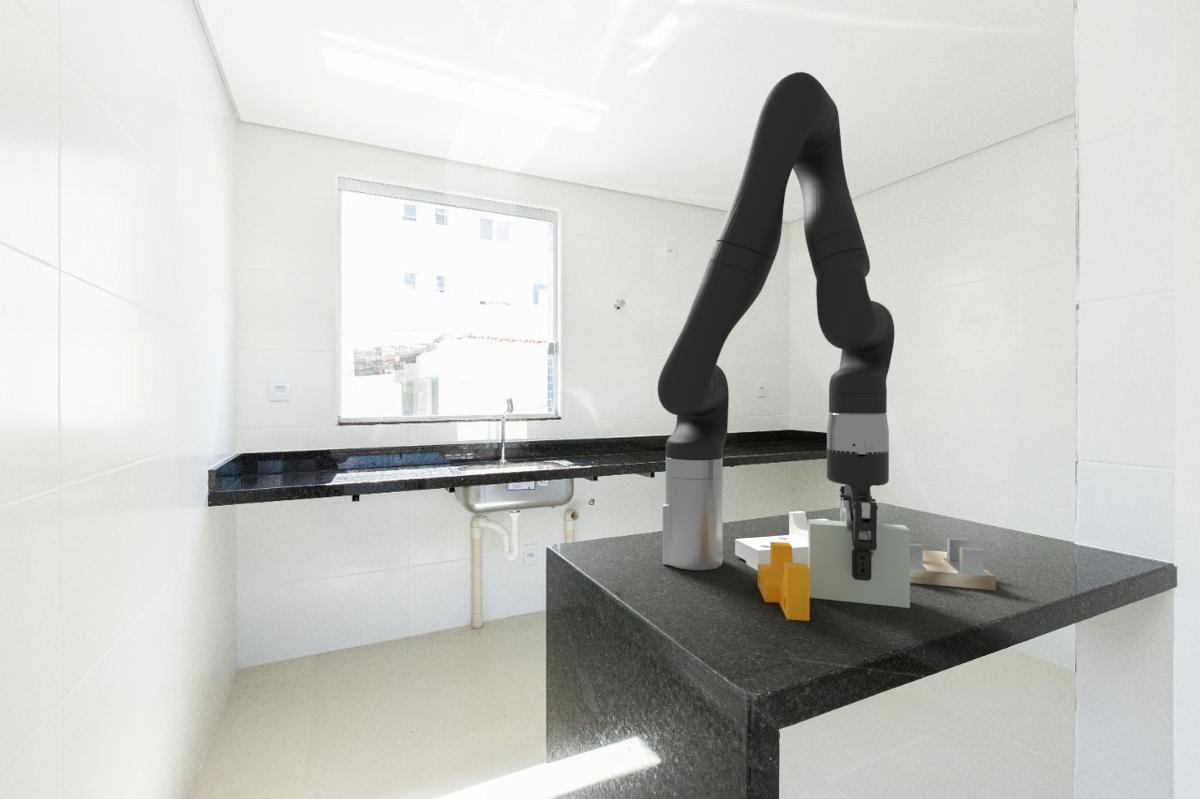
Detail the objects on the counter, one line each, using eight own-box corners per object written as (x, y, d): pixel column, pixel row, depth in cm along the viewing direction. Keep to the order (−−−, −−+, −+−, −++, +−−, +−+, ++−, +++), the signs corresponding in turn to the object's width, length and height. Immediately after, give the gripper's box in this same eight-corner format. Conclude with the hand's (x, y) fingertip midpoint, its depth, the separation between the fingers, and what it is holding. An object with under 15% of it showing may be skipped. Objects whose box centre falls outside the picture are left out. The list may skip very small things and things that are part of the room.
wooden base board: (891, 581, 79) (891, 567, 79) (875, 558, 91) (875, 546, 91) (995, 590, 75) (995, 576, 75) (965, 565, 87) (965, 553, 87)
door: (810, 600, 72) (810, 525, 72) (808, 590, 76) (808, 519, 76) (911, 611, 68) (912, 532, 68) (904, 600, 72) (904, 525, 72)
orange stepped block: (757, 586, 78) (757, 541, 78) (789, 587, 77) (789, 542, 77) (772, 619, 66) (772, 566, 66) (809, 621, 65) (809, 568, 65)
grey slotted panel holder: (898, 568, 79) (898, 544, 79) (888, 555, 85) (888, 533, 85) (987, 575, 76) (987, 550, 76) (970, 562, 82) (970, 539, 82)
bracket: (802, 554, 94) (802, 511, 94) (829, 566, 87) (829, 519, 87) (735, 560, 91) (735, 515, 91) (758, 573, 84) (758, 524, 84)
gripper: (821, 442, 80) (821, 554, 80) (833, 451, 67) (833, 585, 67) (877, 443, 78) (877, 558, 78) (901, 452, 64) (901, 592, 64)
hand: (856, 570), depth 72 cm, fingers open, 6 cm apart
